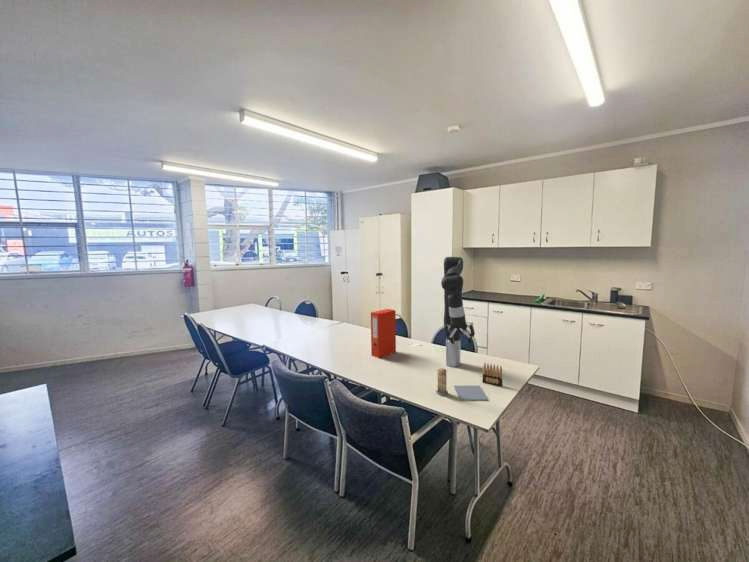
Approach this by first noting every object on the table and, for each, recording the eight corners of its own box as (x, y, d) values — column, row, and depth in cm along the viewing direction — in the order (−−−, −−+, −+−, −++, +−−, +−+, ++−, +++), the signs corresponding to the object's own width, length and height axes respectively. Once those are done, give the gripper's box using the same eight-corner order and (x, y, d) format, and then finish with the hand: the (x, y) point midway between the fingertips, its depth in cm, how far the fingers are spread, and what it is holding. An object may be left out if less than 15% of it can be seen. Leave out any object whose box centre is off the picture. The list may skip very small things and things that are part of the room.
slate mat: (454, 386, 178) (454, 385, 178) (479, 386, 177) (479, 385, 177) (460, 400, 162) (460, 399, 162) (488, 400, 161) (488, 399, 161)
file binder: (396, 352, 236) (395, 310, 232) (379, 358, 224) (378, 314, 221) (388, 350, 242) (387, 308, 238) (371, 355, 230) (370, 312, 227)
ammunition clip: (482, 382, 182) (482, 362, 181) (483, 381, 183) (483, 361, 182) (501, 387, 176) (502, 366, 174) (502, 385, 177) (503, 365, 176)
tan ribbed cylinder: (435, 390, 173) (435, 367, 172) (446, 390, 173) (446, 367, 171) (437, 396, 167) (437, 372, 166) (448, 395, 167) (448, 372, 165)
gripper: (472, 311, 160) (477, 340, 163) (445, 312, 167) (449, 340, 170) (470, 316, 154) (474, 347, 157) (441, 317, 161) (446, 346, 164)
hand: (461, 343), depth 164 cm, fingers open, 8 cm apart
